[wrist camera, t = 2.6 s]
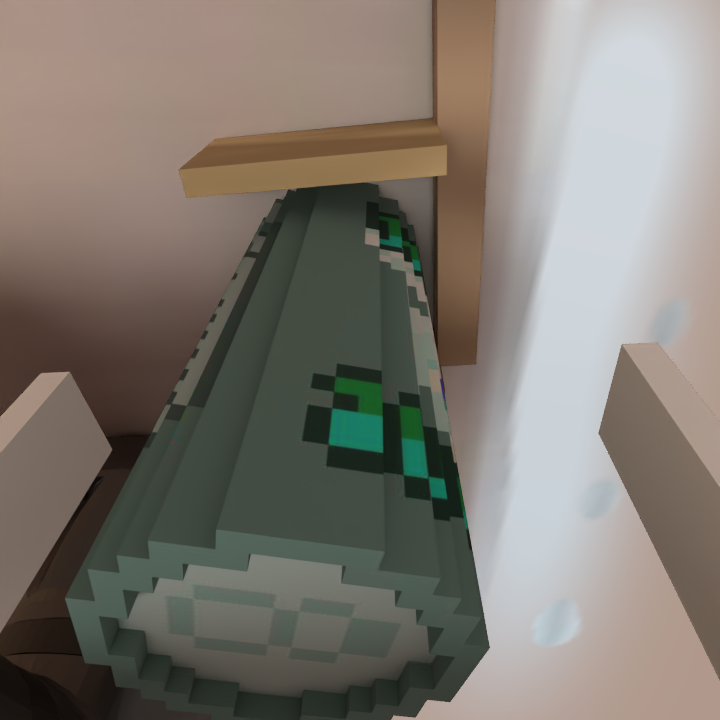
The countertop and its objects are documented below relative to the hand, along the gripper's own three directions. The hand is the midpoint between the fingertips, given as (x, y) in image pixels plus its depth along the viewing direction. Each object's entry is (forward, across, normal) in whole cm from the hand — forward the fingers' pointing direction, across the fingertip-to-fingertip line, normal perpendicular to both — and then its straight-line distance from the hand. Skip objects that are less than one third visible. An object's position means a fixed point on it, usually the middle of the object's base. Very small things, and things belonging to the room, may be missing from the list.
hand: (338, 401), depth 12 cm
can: (+9, +1, 0) cm, 9 cm away
